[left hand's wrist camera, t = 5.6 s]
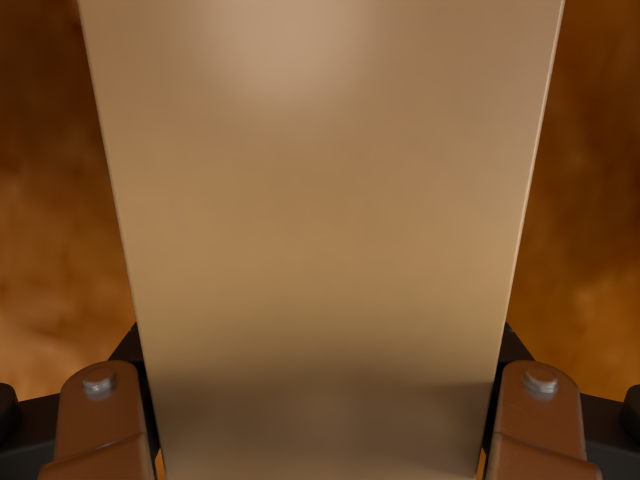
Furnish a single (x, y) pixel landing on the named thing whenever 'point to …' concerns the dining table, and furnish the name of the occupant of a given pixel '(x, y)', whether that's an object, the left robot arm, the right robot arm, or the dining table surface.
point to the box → (320, 221)
